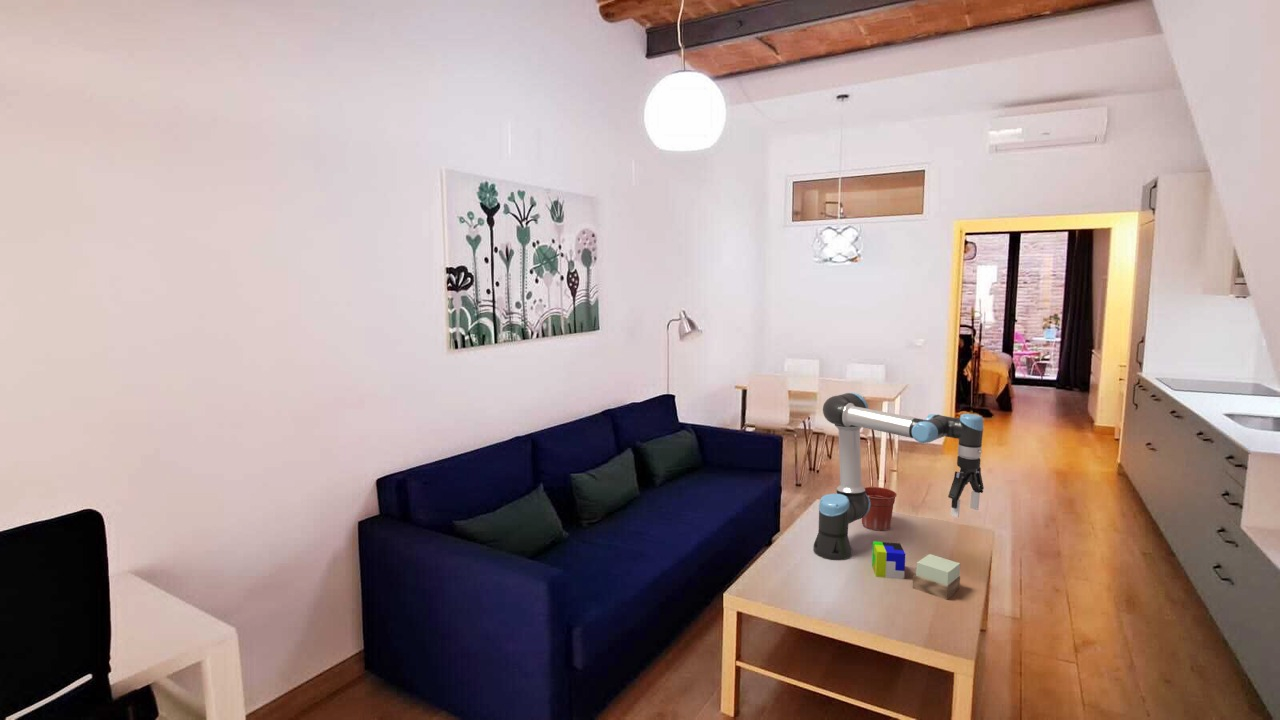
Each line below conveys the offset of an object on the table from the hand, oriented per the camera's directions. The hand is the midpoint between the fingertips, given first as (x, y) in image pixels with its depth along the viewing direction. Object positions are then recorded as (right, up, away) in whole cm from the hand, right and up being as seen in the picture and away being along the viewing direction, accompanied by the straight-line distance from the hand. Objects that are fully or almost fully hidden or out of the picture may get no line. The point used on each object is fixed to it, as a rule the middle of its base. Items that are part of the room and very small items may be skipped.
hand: (964, 512), depth 233 cm
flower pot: (-12, -20, +57) cm, 62 cm away
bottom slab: (-12, -27, -3) cm, 30 cm away
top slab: (-12, -22, -3) cm, 25 cm away
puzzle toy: (-25, -26, +10) cm, 37 cm away
